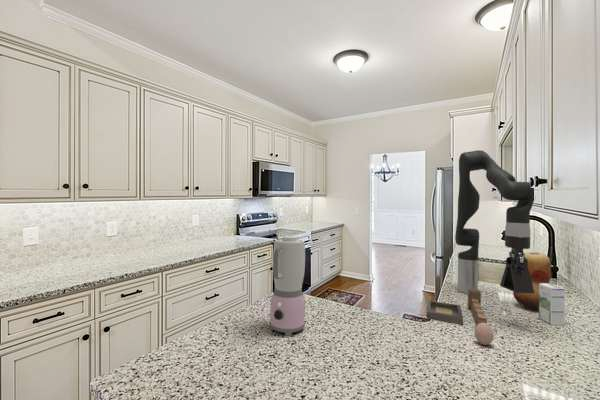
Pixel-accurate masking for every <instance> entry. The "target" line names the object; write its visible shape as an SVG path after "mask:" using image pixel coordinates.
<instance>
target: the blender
mask: <svg viewBox="0 0 600 400" xmlns="http://www.w3.org/2000/svg"><path fill="white" fill-rule="evenodd" d="M305 268H306V242H305V240H302V239H298V237H297V236H292V235H287V236H282V239H275V240H274V242H273V252H272V274H273V281H274V290H273V293H272V296H271V297H270V307H269V308H270V309H269V311H270V314H269V315H270V316H269V317H270V318H269V319H270V320H269V330H270V331H271V332H274V331H276V332H279V333H284V336H285V337H291V336H292V335H293V333H295V332H299V331H301V330H303V329H304V328H305V325H306V320H305V319H306V315H305V314H306V298H305V295H304V292H303V290H302V288H303V283H304V278H305Z"/></svg>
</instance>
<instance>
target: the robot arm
mask: <svg viewBox="0 0 600 400" xmlns="http://www.w3.org/2000/svg"><path fill="white" fill-rule="evenodd" d="M480 170H483V171H486V173H485V178H486V179H487V181H488V182H489V184H491V185H492V186H493V187H495V188H496V189H497V191H498V192H499V194H500V196H501V197H502V198H503V199H505V200H508V201H517V203H516V205H513V206H509V207H508V208H507V209H506V212H505V213H506V215H505V216H506V217H505V221H506V222H505V228H504V246H505V247H506V248H511V250H510V251H509V252H508V254H509V255H508V257H512V258H513V260H514V263H513V265H514V266H515V271H516V272H517V273H518V274H520V275H519V276H520V277H521V273H523V272H524V271H525V264H526V257H525V254H524V250H529V249H531V224H530V223H531V222H530V221H531V219H530V218H531V213H530V212H531V210H532V208H533V204H534V201H535V199H534V188H531V187H530V183H531V182H530V183H529V181H516V178H515V177H514V176H515V175H513V174H511V173H509V172H508V171H507V170H505V169H504V168H502V167H501V166H499V165H498V163H497V162H496V161H495V160H494V159H493V158H492V157H491V156H490V154H488V153H487V152H486V151H484V150H480V149H479V150H471V151H464V152H462V153H461V154H460V155H459V158H458V174H459V175H458V181H459V182H458V195H457V196H458V199H457V218H456V219H457V220H456V227H455V236H454V239H455V244H456V245H458V246H460V247H461V246H462V247H463V246H464V247H470V248H469V249H467V250H465V251H460V252H458V254H457V291H458V292H459V293H462V292H463V293H464V294H467V293H468V289H471V290H479V246H480V232H479V230H478V229H477V228H465V226H466V224H467V223H468V222H469V220H471V218H472V217H473V216H474V215H475V214H476V213H477V212H478V210H479V209H480V208H479V207H480V198H481V196H480V195H481V194H480V193H479V191H478V190H477V188H476V187H475V186H474V184H473V182H472V181H471V176H470V175H471V174H470V173H471V172H474V171H480ZM515 261H516V263H515ZM519 266H520V267H521V268H518V267H519ZM463 293H462V294H463Z"/></svg>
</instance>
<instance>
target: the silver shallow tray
mask: <svg viewBox="0 0 600 400" xmlns="http://www.w3.org/2000/svg"><path fill="white" fill-rule="evenodd" d="M426 305H427V307H426V319H427V320H434V321H439V322H444V323H445V322H446V323H450V324H455V325H463V326H464V316H463V312H462V308H461V305H460V304H455V303H448V302H442V301H435V300H429V299H428V300H427V304H426Z"/></svg>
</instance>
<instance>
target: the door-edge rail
mask: <svg viewBox="0 0 600 400" xmlns="http://www.w3.org/2000/svg"><path fill="white" fill-rule="evenodd" d="M481 303H482V292H481V290H479V289H478V290H471V289H468V294H467V308H468V311H471V314H472V317H473V319H474V322H475V325H476V326H477V325H478V324H479V323H486V324H487V325H488V317H487V316H486V314H485V312H484V309H483V307H482V305H481Z"/></svg>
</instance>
